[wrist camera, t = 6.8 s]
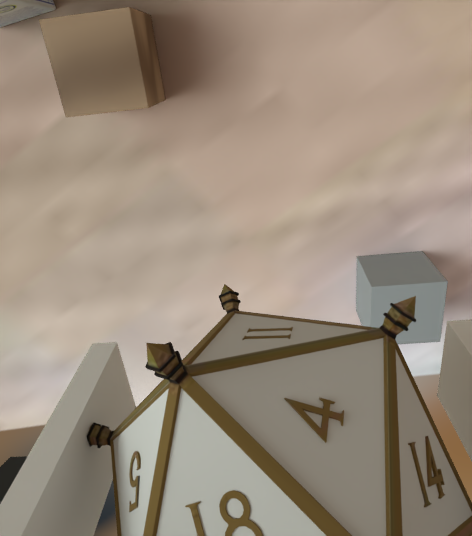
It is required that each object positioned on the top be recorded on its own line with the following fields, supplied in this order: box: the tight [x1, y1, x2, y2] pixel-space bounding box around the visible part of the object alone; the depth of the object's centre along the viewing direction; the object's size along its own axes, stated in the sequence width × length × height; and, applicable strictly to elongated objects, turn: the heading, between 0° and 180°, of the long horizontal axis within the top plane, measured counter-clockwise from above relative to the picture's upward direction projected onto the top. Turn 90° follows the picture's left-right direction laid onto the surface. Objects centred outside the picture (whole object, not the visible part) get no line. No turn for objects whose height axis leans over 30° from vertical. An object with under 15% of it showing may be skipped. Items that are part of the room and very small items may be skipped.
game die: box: [87, 284, 472, 536], centre depth 9 cm, size 9×8×10 cm
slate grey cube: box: [356, 251, 448, 344], centre depth 32 cm, size 5×5×5 cm
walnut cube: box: [39, 7, 165, 117], centre depth 26 cm, size 5×5×5 cm
